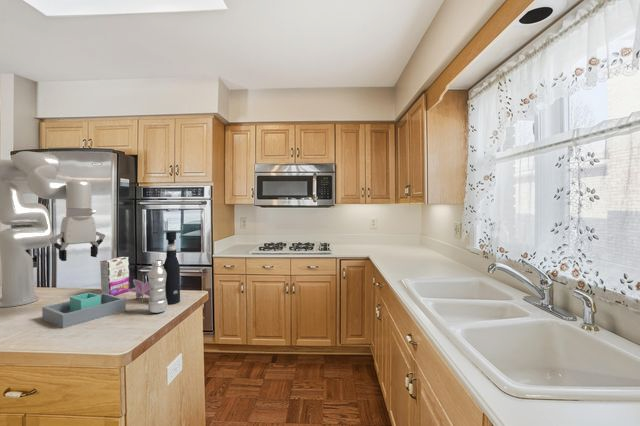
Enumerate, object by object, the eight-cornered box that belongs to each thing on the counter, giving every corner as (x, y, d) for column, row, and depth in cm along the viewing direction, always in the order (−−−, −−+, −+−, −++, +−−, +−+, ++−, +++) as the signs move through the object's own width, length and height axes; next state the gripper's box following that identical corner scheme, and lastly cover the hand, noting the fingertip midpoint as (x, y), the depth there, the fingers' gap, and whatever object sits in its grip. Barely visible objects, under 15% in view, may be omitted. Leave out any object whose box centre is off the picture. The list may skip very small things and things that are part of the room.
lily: (165, 300, 133) (164, 279, 137) (146, 297, 123) (146, 275, 127) (141, 308, 134) (141, 287, 138) (120, 306, 124) (120, 283, 128)
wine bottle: (168, 299, 131) (167, 231, 130) (183, 300, 131) (182, 231, 130) (160, 304, 125) (159, 232, 124) (175, 304, 125) (174, 232, 124)
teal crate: (70, 312, 113) (69, 296, 112) (89, 307, 118) (89, 292, 118) (81, 316, 108) (80, 300, 108) (101, 311, 114) (100, 295, 114)
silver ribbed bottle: (171, 310, 118) (171, 259, 118) (157, 316, 112) (156, 262, 112) (158, 308, 121) (158, 258, 120) (144, 314, 114) (143, 261, 114)
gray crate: (42, 319, 108) (42, 307, 108) (104, 303, 126) (104, 293, 126) (63, 328, 101) (62, 315, 101) (125, 310, 118) (125, 298, 118)
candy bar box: (121, 290, 146) (120, 256, 146) (130, 290, 145) (129, 256, 145) (100, 297, 135) (99, 260, 135) (109, 297, 134) (109, 261, 134)
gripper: (99, 212, 122) (99, 254, 123) (45, 213, 107) (45, 261, 108) (109, 213, 119) (109, 256, 119) (54, 214, 103) (54, 263, 104)
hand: (79, 258), depth 113 cm, fingers open, 9 cm apart
